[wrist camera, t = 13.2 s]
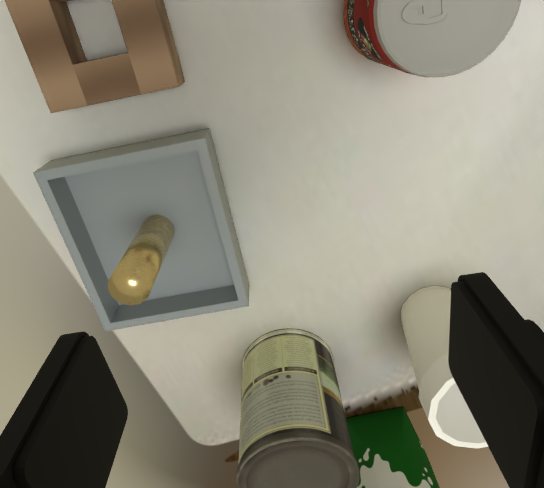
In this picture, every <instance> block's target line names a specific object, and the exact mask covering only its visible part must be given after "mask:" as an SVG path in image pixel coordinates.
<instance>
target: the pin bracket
mask: <svg viewBox="0 0 544 488" xmlns="http://www.w3.org/2000/svg"><path fill="white" fill-rule="evenodd" d="M66 1H71V0H5V2H6V5H7V7H8V10H9V12H10V15H11V17H12V19H13V22H14V24H15V27H16V29H17V32H18V34H19V37H20V39H21V41H22V44H23V46H24V49H25V51H26V54H27V56H28V58H29V61H30V63H31V66H32V68H33V71H34V73H35V76H36V78H37V80H38V83H39V85H40V88H41V90H42V93H43V95H44V97H45V100H46V102H47V105H48V107H49V110H50V112H51V113H54V112H59V111H64V110H68V109H73V108H78V107H83V106H88V105H92V104H97V103H102V102H107V101H112V100H116V99H121V98H126V97H131V96H135V95H140V94H145V93H150V92H155V91H159V90H164V89H169V88H174V87H179V86H180V85H181V84H182V83H184V82H185V81H184V77H183V73H182V70H181V66H180V62H179V58H178V55H177V51H176V47H175V43H174V40H173V36H172V32H171V28H170V25H169V21H168V17H167V13H166V10H165V6H164V2H163V0H112V3H113V6H114V9H115V12H116V15H117V19H118V22H119V25H120V28H121V31H122V35H123V38H124V41H125V44H126V47H127V51H128V53H125V54H120V55H115V56H111V57H106V58H101V59H97V60H92V61H86V58H85V55H84V52H83V49H82V46H81V44H80V41H79V38H78V35H77V32H76V30H75V27H74V24H73V21H72V18H71V16H70V13H69V10H68V7H67V4H66Z"/></svg>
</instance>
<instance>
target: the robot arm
mask: <svg viewBox="0 0 544 488" xmlns="http://www.w3.org/2000/svg"><path fill="white" fill-rule="evenodd" d="M448 363H449V368H450V372H451V374H452V377H453V378H454V380H455V382H456V384H457V386H458V388H459V390H460V392H461V394H462V396H463V398H464V400H465V402H466V404H467V406H468V408H469V410H470V412H471V413H472V415H473V417H474V419H475V421H476V423H477V425H478V427H479V429H480V431H481V433H482V435H483V437H484V439H485V441H486V443H487V445H488V446H489V448H490V450H491V452H492V454H493V456H494V458H495V460H496V462H497V464H498V466H499V468H500V470H501V471H502V473H503V476H504V478H505V479H506V481H507V483H508V485H509V487H510V488H544V332H543V331H542V330H541V329H540V328H539V326H538V325H537V324H535V323H534V322H533V321H531V320H529V319H528V320H524V319H523V318H522V316H521V315H520V314H519V313H518V312H517V310H516V309H515V308H514V307H513V306H512V304H511V303H510V302H509V301H508V300H507V298H506V297H505V296H504V295H503V294H502V292H501V291H500V290H499V289H498V288H497V286H496V285H495V284H494V283H493V282H492V280H491V279H490V278H489V277H488V276H487V275H486V274H485V273H483V272H481V273H475V274H468V275H461V276H459V278H458V282H453V283H452V285H451V305H450V330H449V355H448ZM127 415H128V410H127V406H126V403H125V401H124V399H123V396H122V394H121V392H120V390H119V388H118V386H117V384H116V381H115V379H114V377H113V375H112V373H111V371H110V369H109V367H108V365H107V362H106V360H105V358H104V356H103V354H102V352H101V350H100V347H99V345H98V343H97V341H96V339H95V338H94V337H93V336H89V335H88V334H87V333H86V332H77V333H71V334H64V335H61V336H60V337H59V339H58V340H57V342H56V344H55V345H54V347H53V349H52V351H51V352H50V354H49V355H48V357H47V359H46V360H45V362H44V364H43V365H42V367H41V369H40V370H39V372H38V374H37V375H36V377H35V379H34V381H33V382H32V384H31V385H30V387H29V389H28V390H27V392H26V394H25V396H24V397H23V399H22V400H21V402H20V404H19V405H18V407H17V409H16V411H15V412H14V414H13V415H12V417H11V419H10V421H9V422H8V424H7V426H6V427H5V429H4V430H3V432H2V434H1V436H0V488H105V486H106V483H107V480H108V477H109V474H110V471H111V468H112V465H113V461H114V458H115V455H116V452H117V449H118V446H119V443H120V439H121V436H122V433H123V430H124V427H125V424H126V421H127Z"/></svg>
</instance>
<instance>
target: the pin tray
mask: <svg viewBox="0 0 544 488" xmlns="http://www.w3.org/2000/svg"><path fill="white" fill-rule="evenodd" d="M33 173H34V176H35V178H36V180H37V182H38V184H39V187H40V189H41V191H42V193H43V195H44V198H45V200H46V202H47V204H48V206H49V209H50V211H51V213H52V215H53V217H54V220H55V222H56V224H57V226H58V228H59V231H60V233H61V235H62V237H63V239H64V241H65V244H66V246H67V248H68V250H69V252H70V255H71V257H72V259H73V261H74V263H75V266H76V268H77V270H78V272H79V274H80V277H81V279H82V281H83V283H84V285H85V288H86V290H87V292H88V294H89V296H90V299H91V301H92V303H93V305H94V307H95V309H96V312H97V314H98V316H99V318H100V320H101V323H102V325H103V327H104V329H105V331H110V330H115V329H121V328H127V327H132V326H138V325H144V324H149V323H155V322H161V321H166V320H172V319H178V318H183V317H189V316H195V315H200V314H206V313H212V312H217V311H223V310H229V309H234V308H240V307H246V306H249V282H248V279H247V275H246V271H245V267H244V263H243V259H242V255H241V251H240V247H239V243H238V239H237V235H236V231H235V227H234V223H233V220H232V216H231V212H230V208H229V204H228V200H227V196H226V192H225V188H224V184H223V180H222V176H221V172H220V168H219V164H218V161H217V157H216V153H215V149H214V145H213V141H212V137H211V133H210V129H204V130H199V131H194V132H189V133H184V134H179V135H174V136H169V137H165V138H160V139H155V140H150V141H145V142H140V143H135V144H130V145H125V146H120V147H115V148H110V149H105V150H100V151H95V152H90V153H85V154H80V155H76V156H71V157H66V158H61V159H56V160H51V161H50V162H48V163H47V164H45V165H44V166H42V167H41V168H39V169H38V170H36V171H35V172H33ZM152 215H162V216H164V217H166V218H168V219H169V220H170V221H171V222H172V223H173V225H174V228H175V234H174V237H173V239H172V242H171V244H170V247H169V249H168V251H167V254H166V256H165V258H164V261H163V263H162V266H161V268H160V270H159V273H158V275H157V277H156V280H155V282H154V285H153V287H152V289H151V292H150V294H149V296H148V298H147V299H146V300H145V301H144V302H143V303H141V304H138V305H125V304H122V303H120V302H118V301H117V300H115V299H114V298H113V297H112V296H111V294H110V293H109V290H108V280H109V278H110V277H111V275H112V273H113V272H114V270H115V268H116V267H117V265H118V263H119V262H120V260H121V258H122V257H123V255H124V253H125V252H126V250H127V249H128V247H129V245H130V244H131V242H132V240H133V239H134V237H135V235H136V234H137V232H138V230H139V229H140V227H141V225H142V224H143V222H144V221H145V219H146V218H148V217H149V216H152Z"/></svg>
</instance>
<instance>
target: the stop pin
mask: <svg viewBox="0 0 544 488" xmlns="http://www.w3.org/2000/svg"><path fill="white" fill-rule="evenodd" d="M174 234H175V228H174V225H173V223H172V222H171V221H170V220H169V219H168V218H166V217H164V216H162V215H152V216H149V217H148V218H146V219H145V221H144V222H143V224H142V225H141V227H140V229H139V230H138V232H137V234H136V235H135V237H134V239H133V240H132V242H131V244H130V245H129V247H128V249H127V250H126V252H125V253H124V255H123V257H122V258H121V260H120V262H119V263H118V265H117V267H116V268H115V270H114V272H113V273H112V275H111V277H110V278H109V280H108V290H109V293H110V294H111V296H112V297H113V298H114V299H115V300H117V301H118V302H120V303H122V304H125V305H138V304H141V303H143V302H144V301H145V300H146V299H147V298H148V296H149V294H150V292H151V289H152V287H153V285H154V282H155V280H156V277H157V275H158V273H159V270H160V268H161V266H162V263H163V261H164V258H165V256H166V254H167V251H168V249H169V247H170V244H171V242H172V239H173V237H174Z"/></svg>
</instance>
